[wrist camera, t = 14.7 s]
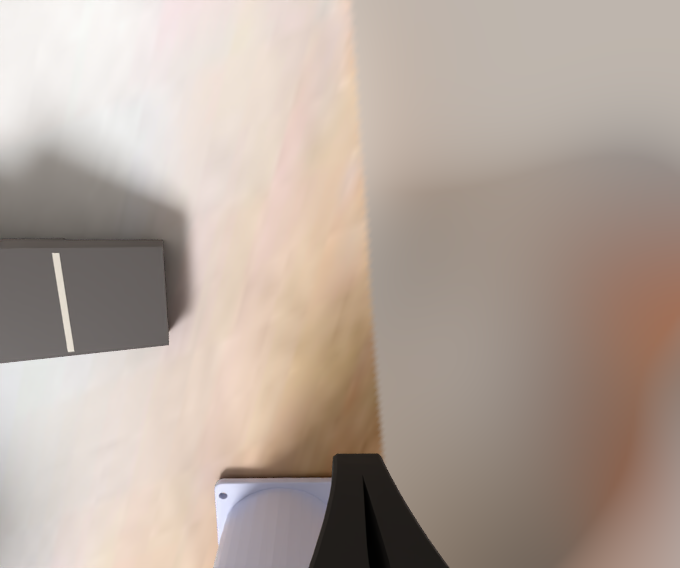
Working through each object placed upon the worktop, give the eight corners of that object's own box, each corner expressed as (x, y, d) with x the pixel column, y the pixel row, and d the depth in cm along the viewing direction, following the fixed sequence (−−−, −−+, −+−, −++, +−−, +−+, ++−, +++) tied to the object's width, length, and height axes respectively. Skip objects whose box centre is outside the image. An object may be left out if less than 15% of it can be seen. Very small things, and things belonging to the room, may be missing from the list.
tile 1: (162, 247, 17) (-80, 249, 13) (168, 345, 18) (-47, 368, 15) (162, 239, 18) (-59, 239, 15) (168, 331, 20) (-30, 350, 16)
